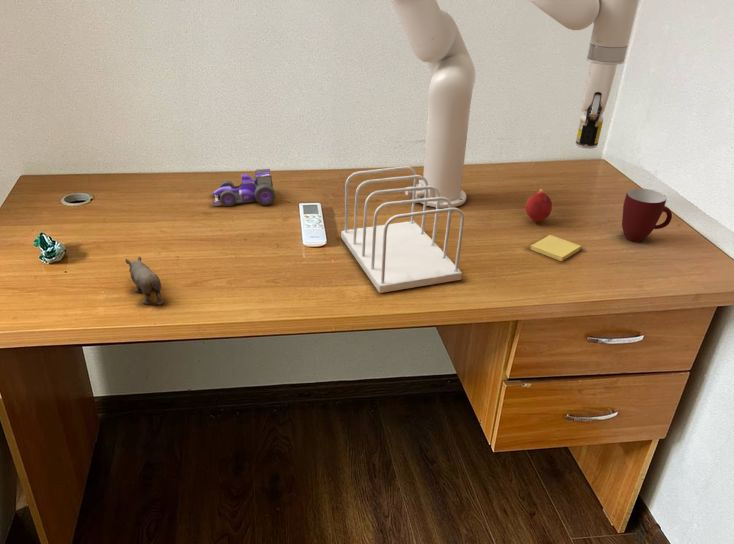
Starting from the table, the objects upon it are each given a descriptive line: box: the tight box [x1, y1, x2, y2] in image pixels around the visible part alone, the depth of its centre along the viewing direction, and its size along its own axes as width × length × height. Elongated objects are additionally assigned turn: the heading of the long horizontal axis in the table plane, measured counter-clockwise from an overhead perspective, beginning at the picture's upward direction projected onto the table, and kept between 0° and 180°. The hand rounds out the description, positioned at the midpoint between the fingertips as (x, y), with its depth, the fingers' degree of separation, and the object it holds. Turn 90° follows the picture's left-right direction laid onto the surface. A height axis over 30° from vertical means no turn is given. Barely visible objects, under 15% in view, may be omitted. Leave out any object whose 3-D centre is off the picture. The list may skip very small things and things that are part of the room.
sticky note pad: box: [530, 234, 582, 262], centre depth 143 cm, size 8×8×1 cm
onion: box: [525, 188, 553, 224], centre depth 152 cm, size 6×6×8 cm
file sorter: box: [340, 165, 465, 294], centre depth 135 cm, size 25×17×16 cm
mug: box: [621, 188, 673, 243], centre depth 145 cm, size 11×8×10 cm
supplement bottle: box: [575, 108, 604, 150], centre depth 148 cm, size 5×5×8 cm
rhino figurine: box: [125, 256, 165, 306], centre depth 126 cm, size 4×14×6 cm, turn 33°
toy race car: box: [212, 168, 276, 207], centre depth 162 cm, size 10×15×6 cm, turn 100°
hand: (587, 139), depth 149 cm, fingers closed on supplement bottle, 4 cm apart
